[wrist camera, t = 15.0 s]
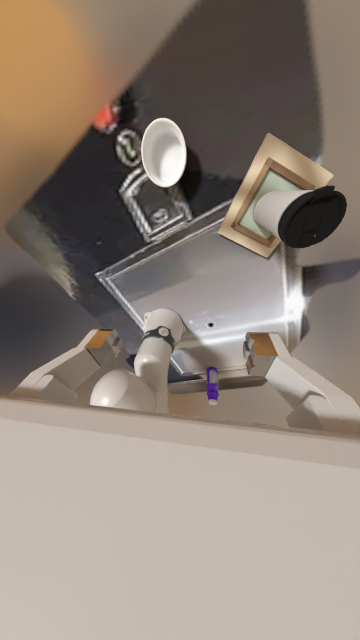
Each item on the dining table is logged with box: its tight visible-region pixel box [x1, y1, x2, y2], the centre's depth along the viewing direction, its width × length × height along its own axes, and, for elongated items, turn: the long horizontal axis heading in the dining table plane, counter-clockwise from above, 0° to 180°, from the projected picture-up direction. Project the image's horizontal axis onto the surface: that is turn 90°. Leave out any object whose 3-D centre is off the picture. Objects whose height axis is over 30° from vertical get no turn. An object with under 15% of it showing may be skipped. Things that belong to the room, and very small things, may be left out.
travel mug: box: [253, 186, 347, 248], centre depth 25 cm, size 6×7×20 cm
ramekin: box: [141, 118, 186, 187], centre depth 30 cm, size 9×9×4 cm
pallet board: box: [218, 133, 333, 258], centre depth 33 cm, size 17×15×2 cm
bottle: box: [207, 368, 219, 405], centre depth 75 cm, size 7×6×17 cm
